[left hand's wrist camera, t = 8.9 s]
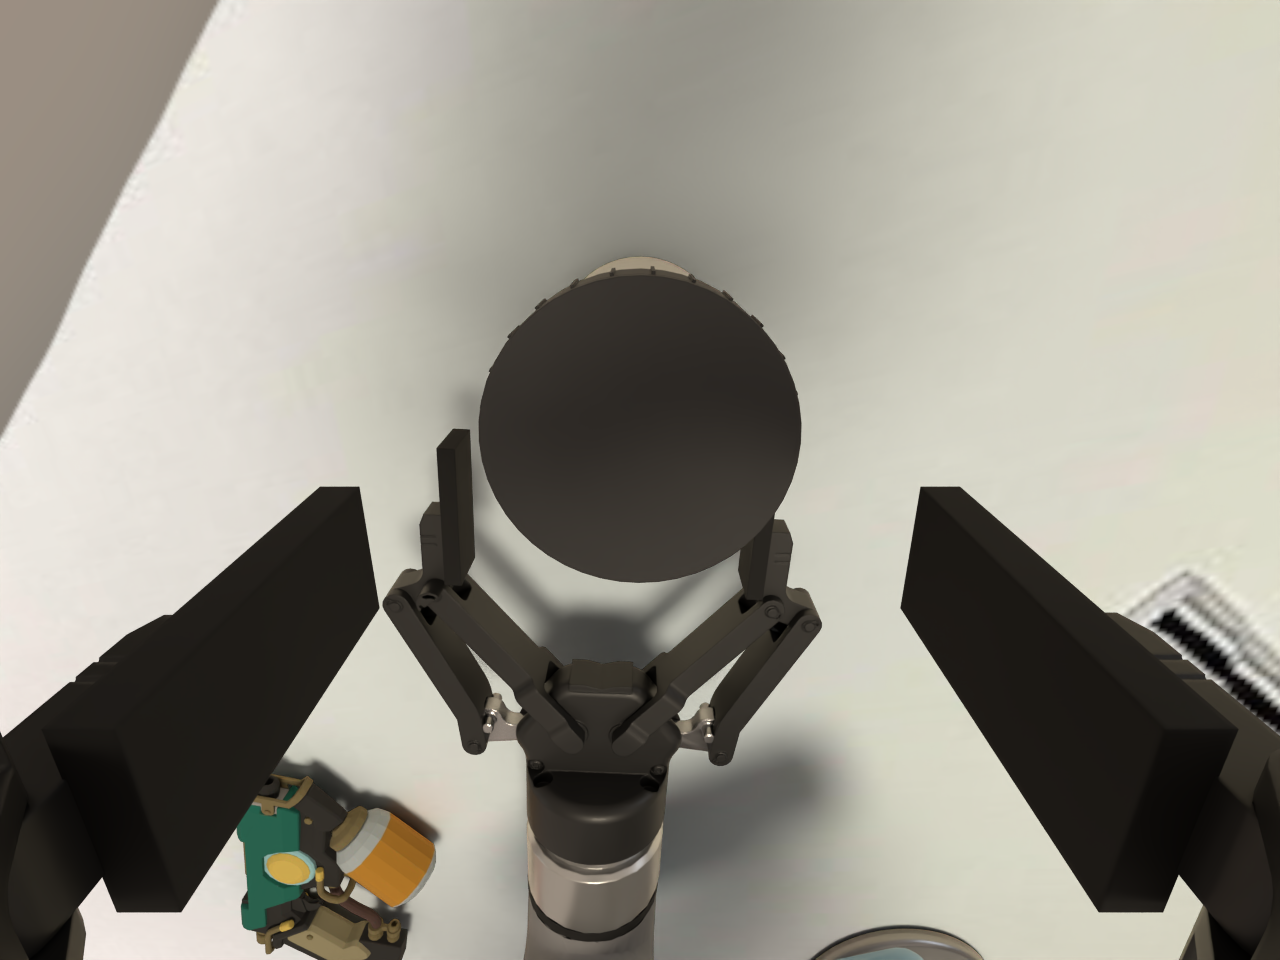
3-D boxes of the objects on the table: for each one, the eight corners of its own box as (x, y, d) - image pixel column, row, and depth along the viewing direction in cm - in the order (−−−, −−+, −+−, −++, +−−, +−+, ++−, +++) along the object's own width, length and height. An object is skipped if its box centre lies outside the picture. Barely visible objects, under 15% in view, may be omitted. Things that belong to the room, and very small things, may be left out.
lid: (671, 195, 19) (675, 194, 17) (843, 447, 22) (864, 473, 20) (429, 391, 21) (407, 411, 19) (614, 598, 24) (612, 635, 22)
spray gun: (398, 952, 52) (208, 882, 50) (477, 821, 46) (263, 734, 44) (375, 1014, 48) (168, 941, 46) (458, 880, 42) (221, 788, 40)
